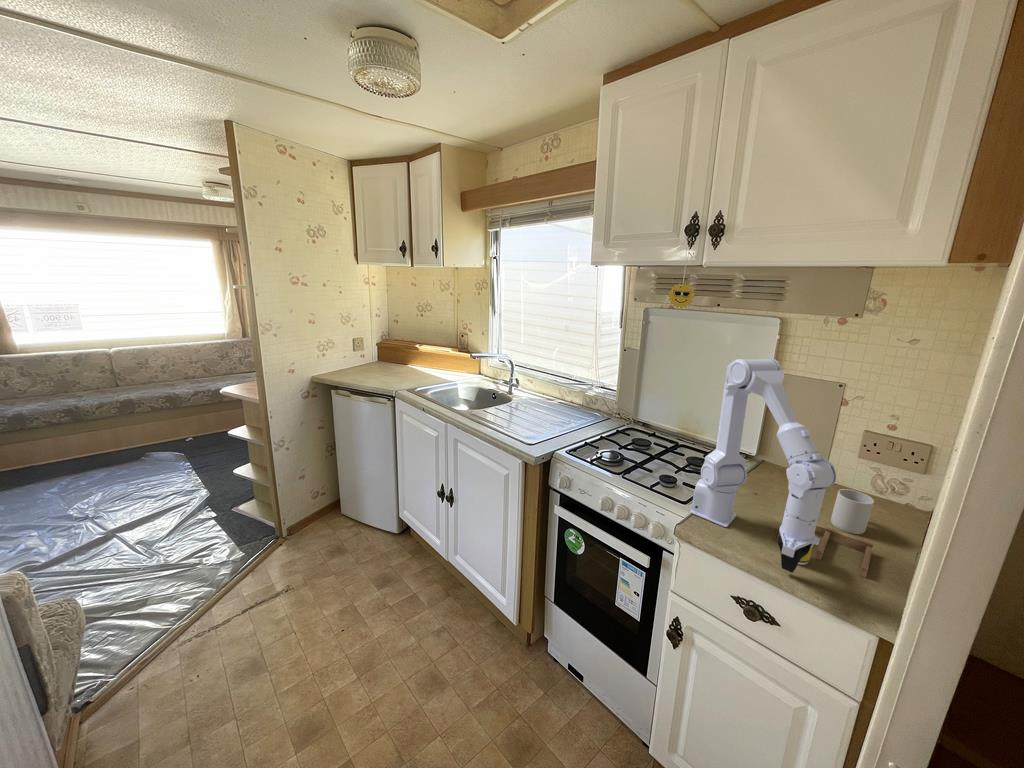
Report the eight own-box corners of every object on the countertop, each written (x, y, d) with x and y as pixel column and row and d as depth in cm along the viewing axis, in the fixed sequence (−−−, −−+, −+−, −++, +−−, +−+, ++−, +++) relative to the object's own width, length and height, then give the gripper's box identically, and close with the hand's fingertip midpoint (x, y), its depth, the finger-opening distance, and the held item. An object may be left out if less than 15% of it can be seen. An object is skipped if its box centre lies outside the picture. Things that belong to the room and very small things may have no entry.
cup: (828, 526, 109) (837, 496, 107) (832, 511, 116) (840, 482, 114) (864, 538, 105) (873, 507, 102) (865, 521, 112) (874, 492, 109)
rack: (776, 542, 102) (778, 533, 101) (787, 522, 110) (789, 514, 110) (865, 577, 91) (868, 568, 90) (870, 552, 99) (873, 543, 98)
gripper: (818, 537, 79) (802, 596, 83) (830, 508, 89) (816, 562, 93) (775, 521, 84) (762, 578, 88) (792, 495, 94) (779, 547, 98)
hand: (787, 569), depth 91 cm, fingers closed
